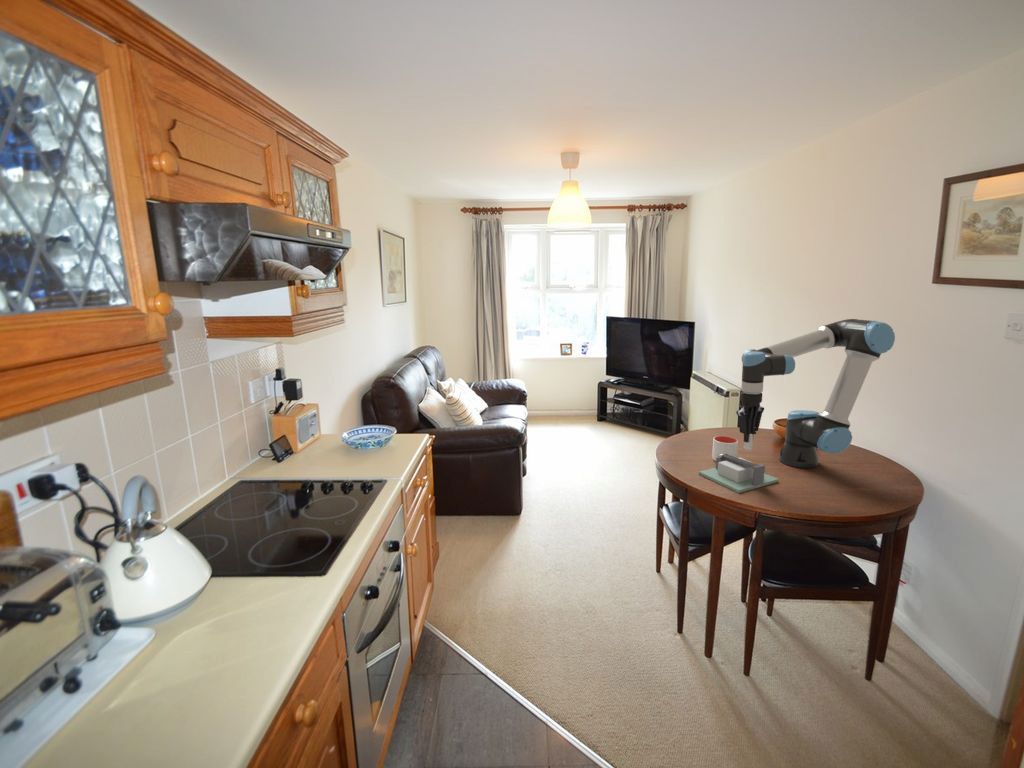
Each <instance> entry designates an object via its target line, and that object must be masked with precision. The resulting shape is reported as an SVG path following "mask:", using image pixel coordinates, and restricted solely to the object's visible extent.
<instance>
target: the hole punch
mask: <svg viewBox="0 0 1024 768" xmlns="http://www.w3.org/2000/svg"><path fill="white" fill-rule="evenodd" d="M737 458H739V459H742V460H746V461H749V462H752V461H750V460H747V459H745V458H743V457H740V456H738V457H737ZM752 463H754V462H752ZM765 470H766V465H765V464H762V463H761V464H758V465H756V466H753V467H752V468H751V467H748V466H745V465H742V464H739V463H736V462H733V461H730V460H728V459H725V458H719V457H716V461H715V467H712V468H709V469H704V470H701V471H699V472H698V475H699V476H701V477H704V478H706V479H707V480H710V481H712V482H714V483H717V484H719V485H720V486H722V487H725V488H727V489H729V490H731V491H733V492H735V493H737V494H740V493H744V492H747V491H751V490H755V489H758V488H761V487H765V486H768V485H771V484H775V483H778V482H779V478H777V477H774V476H772V475H769V474H768V473H765Z"/></svg>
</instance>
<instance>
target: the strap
mask: <svg viewBox="0 0 1024 768" xmlns="http://www.w3.org/2000/svg"><path fill="white" fill-rule="evenodd" d="M718 457H719V458H725V459H728V460H730V461H733V462H736V463H739V464H742V465H745V466H748V467H751V468H752V467H753V466H756V465H759V464H758V463H755V462H753V463H752V461H750V460H747V459H745V460H742V459H743V458H742V459H739V458H738V457H737V458H736V457H733V456H730V455H728V454H727V453H726V454H722V455H718ZM746 460H747V461H746ZM749 461H750V462H749Z"/></svg>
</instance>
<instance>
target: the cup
mask: <svg viewBox="0 0 1024 768" xmlns="http://www.w3.org/2000/svg"><path fill="white" fill-rule="evenodd" d="M738 445H739V440H738V439H737V438H735V437H731V436H728V435H718V436H714V437H713V439H712V451H711V457H712V460H713V461H715V462H716V457H718V455H722V454H726V453H727V454H728V455H730V456H733V457H736V458H738V457H737V456H738Z"/></svg>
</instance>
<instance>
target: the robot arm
mask: <svg viewBox="0 0 1024 768" xmlns="http://www.w3.org/2000/svg"><path fill="white" fill-rule="evenodd" d="M895 335H896V334H895V331H894V329H893V328H892V325H890V324H888V323H886V322H882V321H879V320H878V321H877V320H868V319H857V318H846V319H842V320H838V321H834V322H832V323H829V324H825V325H822V326H820V327H818V328H817V330H815V331H813V332H812V331H811V332H809V333H805V334H803V335H799V336H796V337H794V338H790V339H786V340H784V341H782V342H778V343H775V344H772V345H769V346H765V347H763V348H760V349H754V348H753V349H752V348H751V349H747V350H745V351H744V352H743V353H742V355H741V362H742V363H741V365H742V366H741V367H742V369H741V370H742V371H741V373H742V374H741V387H740V388H741V392H740V401H741V403H742V404H741V406H740V408H741V409H740V410H736V412H735V413H736V415H737V418H738V419H737V420H738V429H739V432H740V433H741V434H743V449H745V450H746V451H749V452H750V451H752V450H753V442H754V435H757V432H758V431H759V427H760V424H761V420H762V415H763V413H764V410H765V407H763V406H761V403H762V402H763V392H764V379H765V378H764V377H769V376H770V377H771V376H784V375H785V376H786V375H791V374H792V373H793V372H794V371H795V368H796V361H795V359H794V358H796V357H799V356H802V355H805V354H808V353H811V352H814V351H817V350H820V349H821V350H822V349H827V350H828V349H832V348H835V347H839V348H841V347H842V348H844V347H845V348H844V352H845V354H846V357H845V360H844V362H843V364H842V367H841V369H840V371H839V373H838V377H837V378H836V381H835V384H834V386H833V388H832V391H831V393H830V396H829V399H828V400H827V403H826V405H825V407H824V410H823V411H822V412H818V411H815V410H808V409H807V410H803V409H802V410H797V409H796V410H792V411H789V412H788V414H787V418H786V424H785V425H786V427H785V436H784V437H785V438H784V443H783V446H782V447H781V449H780V451H779V453H778V461H779V462H781V463H782V464H784V465H787V466H791V467H794V468H800V469H801V468H802V469H813V468H817V467H818V466H819V455H818V452H817V449H818V450H819V451H821V452H826V453H828V454H839V453H841V452H844V451H846V449H848V448H849V446H850V445H851V443H852V440H853V434H852V431H850V426H851V422H850V421H849V417H850V415H851V413H852V411H853V407H854V406H855V403H856V401H857V399H858V396H859V394H860V392H861V389H862V387H863V384H864V383H865V380H866V377H867V375H868V374H869V370H870V368H871V366H872V364H873V362H875V361H878V360H879V359H880V358H881V355H882V354H885V353H887V352H888V351H890V350H891V349H892V348H893V346H894V344H895V340H896V336H895Z"/></svg>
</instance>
